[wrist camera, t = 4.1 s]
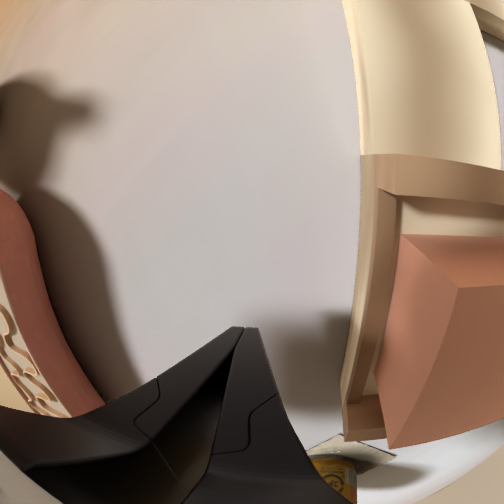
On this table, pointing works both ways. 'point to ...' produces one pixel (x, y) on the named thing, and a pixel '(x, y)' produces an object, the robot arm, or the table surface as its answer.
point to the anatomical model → (35, 327)
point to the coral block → (443, 339)
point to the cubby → (385, 196)
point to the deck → (421, 121)
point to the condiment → (345, 463)
